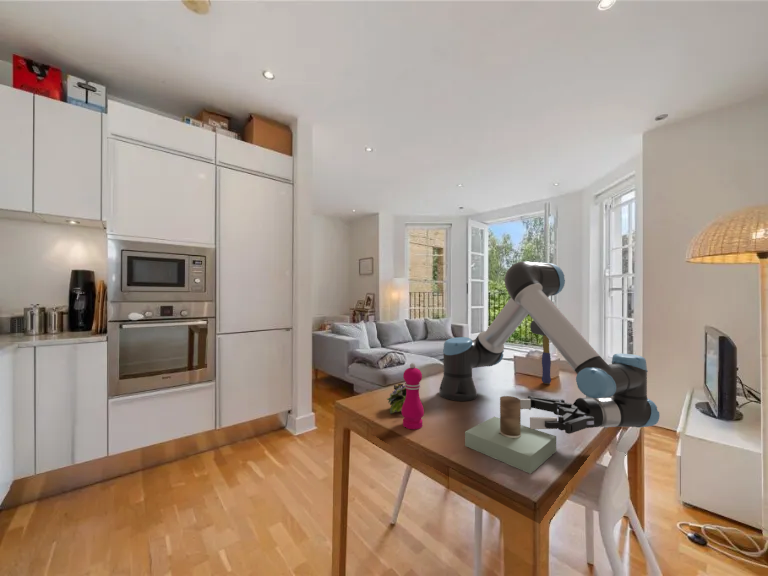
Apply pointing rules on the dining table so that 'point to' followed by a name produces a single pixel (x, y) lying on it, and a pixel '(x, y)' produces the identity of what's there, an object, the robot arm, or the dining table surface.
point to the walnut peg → (510, 417)
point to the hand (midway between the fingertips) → (518, 412)
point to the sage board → (511, 445)
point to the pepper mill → (412, 399)
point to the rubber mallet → (546, 355)
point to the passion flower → (397, 398)
